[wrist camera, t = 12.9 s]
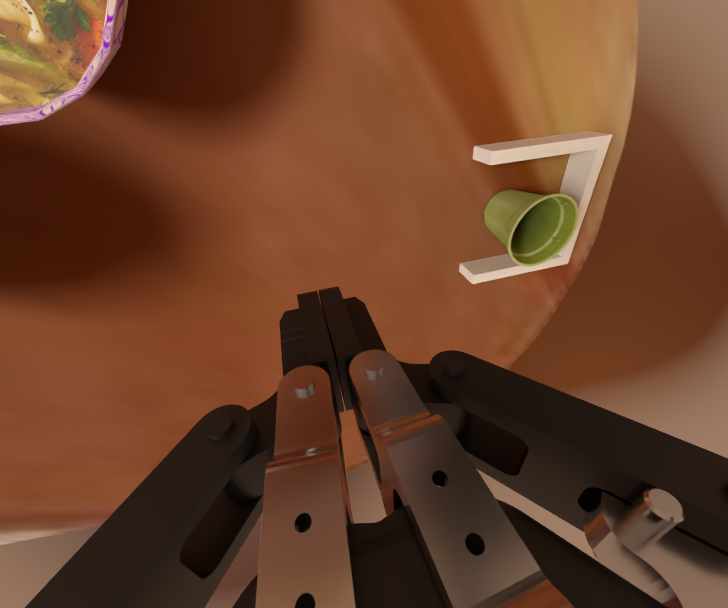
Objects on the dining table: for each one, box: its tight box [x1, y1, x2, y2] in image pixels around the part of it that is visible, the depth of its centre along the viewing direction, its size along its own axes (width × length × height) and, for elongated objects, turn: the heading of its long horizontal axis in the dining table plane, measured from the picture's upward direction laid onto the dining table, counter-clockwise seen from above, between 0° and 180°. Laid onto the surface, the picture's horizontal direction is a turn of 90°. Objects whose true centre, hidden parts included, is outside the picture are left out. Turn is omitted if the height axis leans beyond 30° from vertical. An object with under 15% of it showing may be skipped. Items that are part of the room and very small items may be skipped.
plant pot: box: [484, 189, 579, 267], centre depth 42 cm, size 9×9×9 cm
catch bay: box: [459, 131, 613, 284], centre depth 44 cm, size 18×16×4 cm
